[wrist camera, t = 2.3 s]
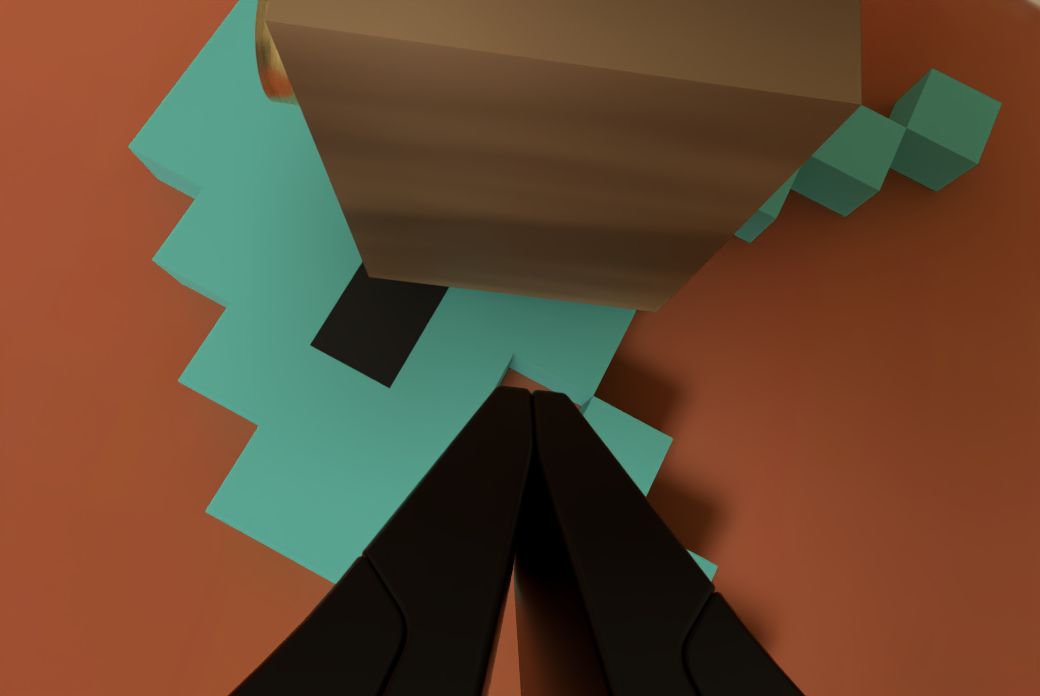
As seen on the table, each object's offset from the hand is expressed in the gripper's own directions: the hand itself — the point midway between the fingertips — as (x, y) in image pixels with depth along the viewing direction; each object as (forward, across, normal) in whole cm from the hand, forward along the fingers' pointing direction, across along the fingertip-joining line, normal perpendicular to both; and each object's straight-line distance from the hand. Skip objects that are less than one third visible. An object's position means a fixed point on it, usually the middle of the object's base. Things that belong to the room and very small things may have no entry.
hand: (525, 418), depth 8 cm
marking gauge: (+11, 0, 0) cm, 11 cm away
